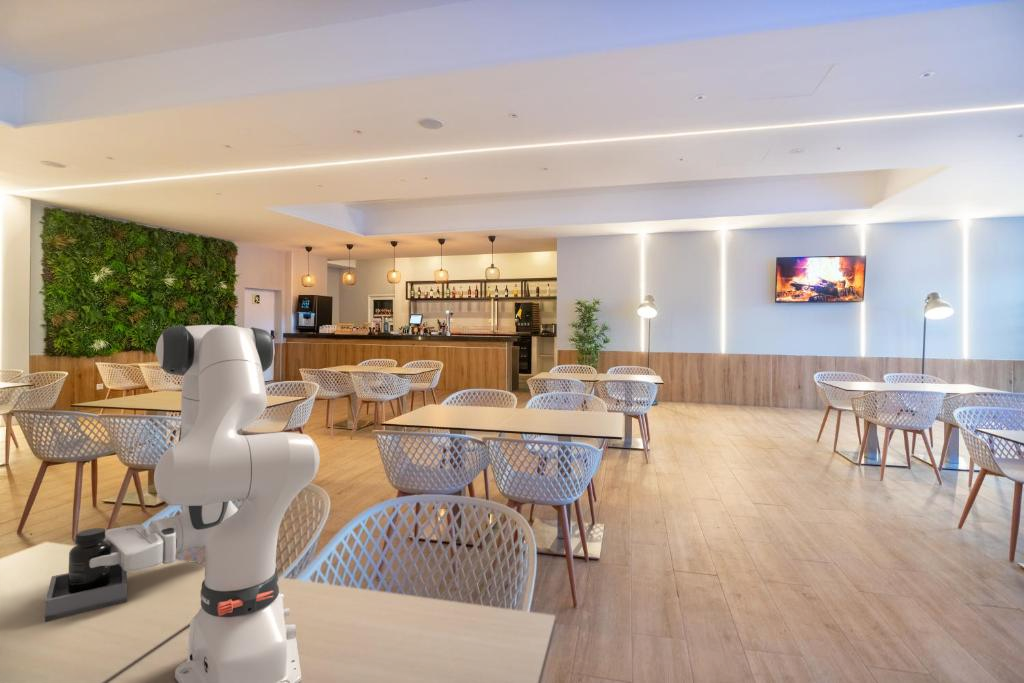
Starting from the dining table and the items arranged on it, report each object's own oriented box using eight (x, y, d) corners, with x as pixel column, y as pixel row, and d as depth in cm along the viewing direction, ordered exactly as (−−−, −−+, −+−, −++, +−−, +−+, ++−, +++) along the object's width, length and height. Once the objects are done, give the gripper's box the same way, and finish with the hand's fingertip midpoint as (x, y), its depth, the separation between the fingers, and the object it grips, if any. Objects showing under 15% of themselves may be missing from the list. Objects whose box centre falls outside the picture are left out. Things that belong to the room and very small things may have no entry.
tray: (126, 601, 105) (127, 582, 105) (44, 621, 97) (45, 601, 97) (125, 578, 114) (126, 561, 114) (51, 595, 107) (51, 576, 107)
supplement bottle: (115, 586, 107) (116, 530, 107) (75, 599, 101) (76, 540, 101) (102, 577, 110) (103, 523, 110) (62, 590, 104) (63, 533, 104)
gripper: (148, 514, 122) (74, 530, 111) (177, 536, 109) (96, 556, 98) (147, 539, 122) (73, 558, 111) (176, 564, 109) (95, 588, 98)
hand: (84, 557), depth 105 cm, fingers closed on supplement bottle, 7 cm apart
